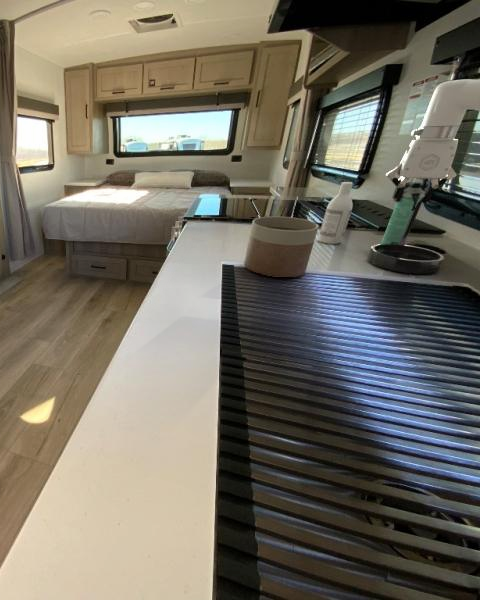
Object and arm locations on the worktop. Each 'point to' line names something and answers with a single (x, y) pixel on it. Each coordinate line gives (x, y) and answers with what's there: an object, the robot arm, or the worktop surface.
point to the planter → (280, 246)
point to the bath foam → (337, 216)
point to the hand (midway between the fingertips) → (409, 200)
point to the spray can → (404, 215)
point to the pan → (405, 258)
